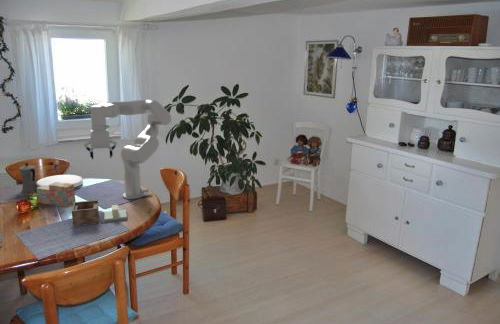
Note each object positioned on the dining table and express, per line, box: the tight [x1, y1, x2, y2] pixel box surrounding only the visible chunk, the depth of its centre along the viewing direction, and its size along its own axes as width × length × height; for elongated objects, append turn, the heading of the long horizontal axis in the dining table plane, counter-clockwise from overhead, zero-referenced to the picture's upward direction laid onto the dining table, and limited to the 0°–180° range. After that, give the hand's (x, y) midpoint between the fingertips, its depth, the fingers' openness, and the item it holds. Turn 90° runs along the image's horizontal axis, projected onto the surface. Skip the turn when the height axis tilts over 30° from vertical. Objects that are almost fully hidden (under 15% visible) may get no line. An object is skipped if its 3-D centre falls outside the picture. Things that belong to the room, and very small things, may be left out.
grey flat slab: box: [100, 211, 128, 224], centre depth 223 cm, size 13×14×1 cm
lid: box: [104, 204, 128, 221], centre depth 222 cm, size 11×11×5 cm
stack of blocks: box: [36, 182, 76, 208], centre depth 240 cm, size 21×6×12 cm, turn 74°
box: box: [71, 199, 100, 227], centre depth 218 cm, size 12×13×8 cm
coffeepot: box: [18, 162, 38, 193], centre depth 260 cm, size 15×9×18 cm, turn 53°
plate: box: [36, 174, 84, 188], centre depth 270 cm, size 28×6×27 cm
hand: (101, 157), depth 232 cm, fingers open, 9 cm apart
